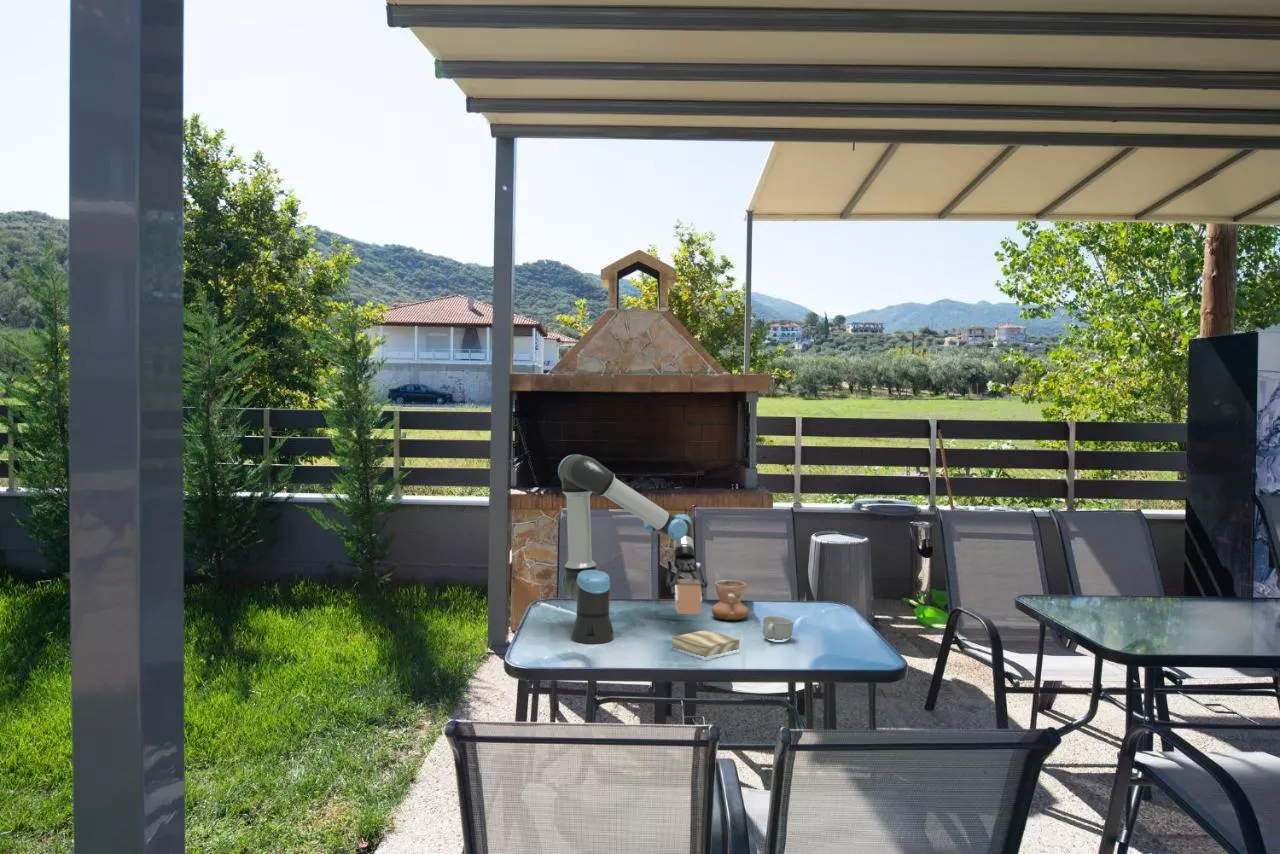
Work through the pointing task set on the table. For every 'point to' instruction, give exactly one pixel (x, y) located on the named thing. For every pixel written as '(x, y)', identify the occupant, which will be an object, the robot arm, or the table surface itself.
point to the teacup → (777, 627)
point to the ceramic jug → (730, 600)
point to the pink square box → (688, 596)
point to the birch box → (705, 643)
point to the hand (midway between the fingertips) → (688, 602)
